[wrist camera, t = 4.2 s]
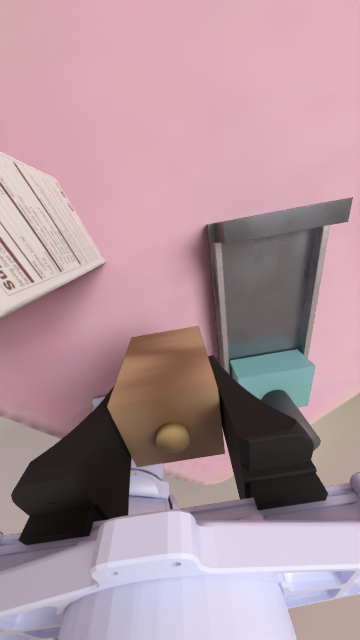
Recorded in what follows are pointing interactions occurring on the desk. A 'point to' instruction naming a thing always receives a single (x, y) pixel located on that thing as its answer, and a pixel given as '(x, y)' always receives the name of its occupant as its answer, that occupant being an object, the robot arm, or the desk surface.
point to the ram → (279, 382)
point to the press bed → (269, 278)
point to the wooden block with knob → (167, 399)
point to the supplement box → (38, 237)
